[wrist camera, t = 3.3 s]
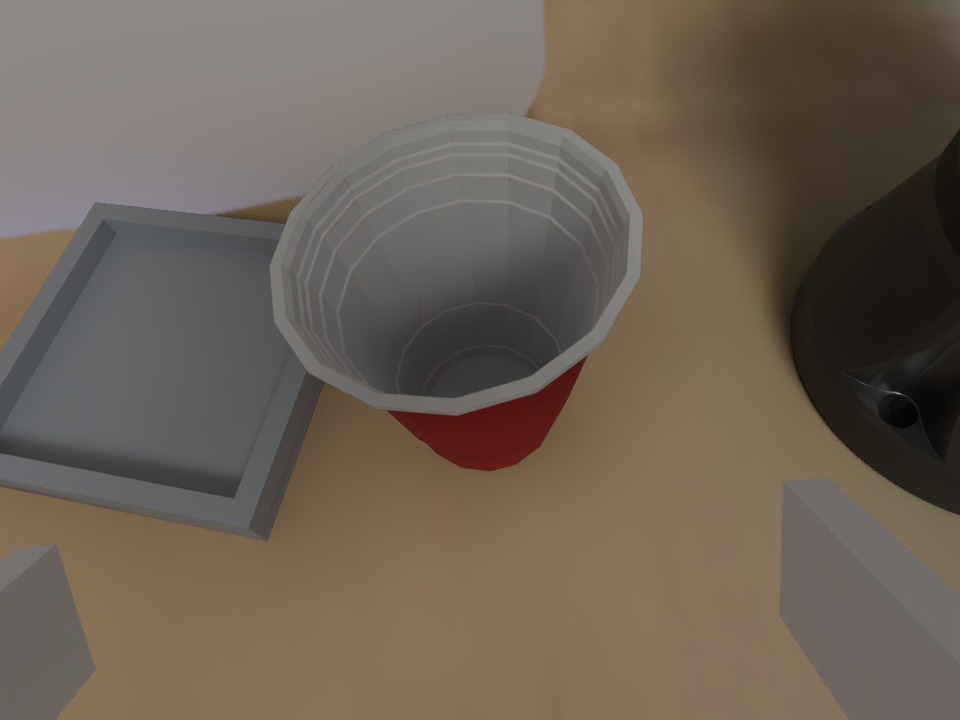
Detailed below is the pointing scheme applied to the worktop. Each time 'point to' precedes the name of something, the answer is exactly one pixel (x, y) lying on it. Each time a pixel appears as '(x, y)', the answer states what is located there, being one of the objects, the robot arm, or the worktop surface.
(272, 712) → the worktop surface
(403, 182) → the plastic cup
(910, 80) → the worktop surface
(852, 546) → the robot arm
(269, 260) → the tray
